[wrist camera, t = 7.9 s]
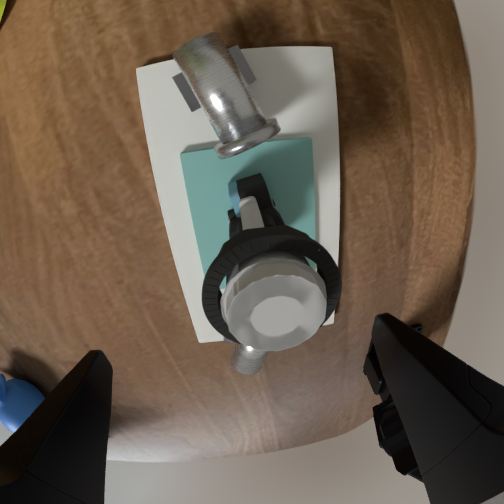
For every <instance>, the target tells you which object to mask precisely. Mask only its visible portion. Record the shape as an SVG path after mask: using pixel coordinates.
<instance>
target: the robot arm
mask: <svg viewBox="0 0 504 504" xmlns="http://www.w3.org/2000/svg"><path fill="white" fill-rule="evenodd" d="M422 330H423V326H422V325H421V324H417V325H413V326H408V325H407V324H405V323H403V322H402V321H400V320H399V319H397V318H396V317H394V316H392V315H391V314H389V313H383V314H379V315H377V316H376V317H375V320H374V325H373V329H372V339H371V343H370V347H369V351H368V354H367V356H366V360H365V363H364V367H363V368H364V370H363V372H364V375H367V377H368V380H369V382H370V384H371V387H372V389H373V392H374V394H376V395H380V397H381V399H382V403H380V404H379V405H376V406H374V407H373V413H374V414H373V416H374V421H375V426H376V431H377V436H378V441H379V446H380V448H383V449H384V450H385V452H386V453H387V454H388V455H389V456H391V457H392V459H393V461H394V464H395V467H396V470H397V471H398V472H400V473H401V474H403V475H407V474H408V475H410V476H412V477H414V478H416V479H418V480H419V481H421V482H423V483H424V485H425V488H426V491H427V494H428V497H429V500H430V504H504V386H503V385H501V384H499V383H497V382H495V381H493V380H492V379H490V378H488V377H486V376H485V375H483V374H482V373H480V372H478V371H477V370H476V369H474V368H473V367H471V366H469V365H467V364H466V363H465V362H463V361H462V360H460V359H459V358H457V357H456V356H454V355H453V354H451V353H450V352H448V351H447V350H445V349H444V348H442V347H441V346H439V345H438V344H436V343H434V342H433V341H431V340H430V339H428V338H427V337H425V336H424V335H422V334H421V332H422ZM112 376H113V369H112V366H111V364H110V362H109V361H108V359H107V357H106V356H105V354H104V353H103V351H101V350H91V351H89V352H88V353H87V354H86V355H85V356H84V357H83V358H82V359H81V360H80V361H79V363H78V364H77V365H76V366H75V367H74V368H73V369H72V370H71V371H70V372H69V373H68V374H67V375H66V376H65V377H64V378H63V379H62V381H61V382H60V383H59V384H58V385H57V386H56V387H55V388H54V389H53V390H52V391H51V392H50V394H49V395H48V396H47V397H46V398H45V399H44V400H43V401H42V402H41V403H40V405H39V406H38V407H37V408H36V409H35V410H34V411H33V412H32V413H31V415H30V416H29V417H28V418H27V419H26V420H25V421H24V423H23V424H22V425H21V426H20V427H19V428H18V429H17V430H16V431H15V432H14V433H13V434H12V435H11V436H10V437H9V439H7V440H6V441H5V442H4V443H3V444H2V445H1V446H0V504H104V491H105V468H106V455H107V443H108V433H109V424H110V416H111V402H112Z"/></svg>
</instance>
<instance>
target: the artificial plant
mask: <svg viewBox="0 0 504 504" xmlns="http://www.w3.org/2000/svg"><path fill="white" fill-rule="evenodd" d="M6 1H7V0H0V22H1V18H2V15H3V11H4V8H5V5H6Z"/></svg>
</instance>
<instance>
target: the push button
mask: <svg viewBox="0 0 504 504" xmlns="http://www.w3.org/2000/svg"><path fill="white" fill-rule="evenodd" d="M228 189H229V197H230V200H231V203H232V206H233V208H234V209H230V210H228V223H229V240H228V241H226V242H225V243H224V244H223V245H222V247H221V250H220V252H219V254H218V256H217V257H216V258H215V259H214V261H213V262H212V263H211V265H210V266H209V268H208V270H207V272H206V274H205V277H204V281H203V286H202V307H203V310H204V313H205V316H206V318H207V319H208V321H209V323H210V324H211V325H212V327H213V328H214V329H215V330H216V331H217V332H219V333H220V334H221V335H222V336H224V337H225V338H227V339H229V340H231V341H233V342H236V343H238V344H241V345H245V346H248V347H251V348H254V349H256V350H262V351H279V350H283V349H289V348H291V347H293V346H297V345H299V344H300V343H302V342H303V341H305V340H307V339H309V338H310V337H311V336H312V335H314V334H315V333H316V331H317V330H318V329H319V328H320V327H321V326H322V325H323V324H324V323H325V322H326V321H327V320H328V319H329V317H330V316H331V315H332V313H333V312H334V310H335V308H336V306H337V304H338V301H339V298H340V294H341V276H340V272H339V269H338V267H337V265H336V263H335V261H334V259H333V258H332V256H331V255H330V253H329V252H328V251H327V250H326V249H325V248H324V247H323V246H322V245H321V244H319V243H318V242H317V241H315V240H313V239H312V238H310V237H309V236H308V234H306V233H304V232H302V231H300V230H297V229H295V228H292V227H290V226H288V225H285V223H284V221H283V219H282V217H281V215H280V213H279V212H278V208H277V205H276V203H275V201H274V199H272V200H273V204H274V207H273V205H272V202H271V198H270V195H269V192H268V188H267V185H266V183H265V180H264V178H263V176H262V174H261V173H258V174H255V175H252V176H249V177H245V178H242V179H239V180H236V181H234V182H230V183H228ZM306 257H307V258H309V259H310V260H312V261H313V262H314V263H315V264H317V272H316V270H315V269H313V268H312V267H310V265H309V263H308V261H307V259H306ZM225 276H226V288H225V290H224V293H223V294H222V292H221V290H220V288H219V287H220V285H221V283H222V281H223V279H224V278H225Z"/></svg>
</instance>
